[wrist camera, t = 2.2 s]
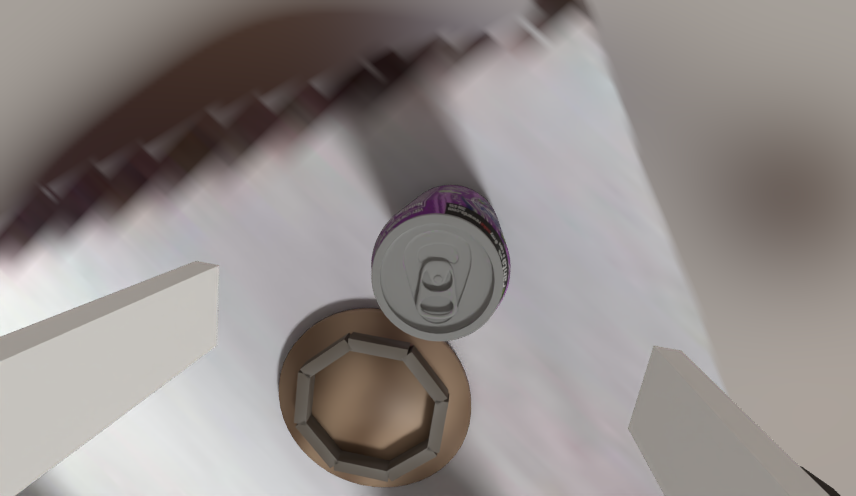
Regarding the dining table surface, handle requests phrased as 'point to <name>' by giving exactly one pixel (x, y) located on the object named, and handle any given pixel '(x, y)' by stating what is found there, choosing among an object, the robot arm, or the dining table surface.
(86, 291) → the dining table surface
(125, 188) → the dining table surface
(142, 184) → the dining table surface
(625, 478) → the dining table surface
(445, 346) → the coaster
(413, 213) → the beverage can
